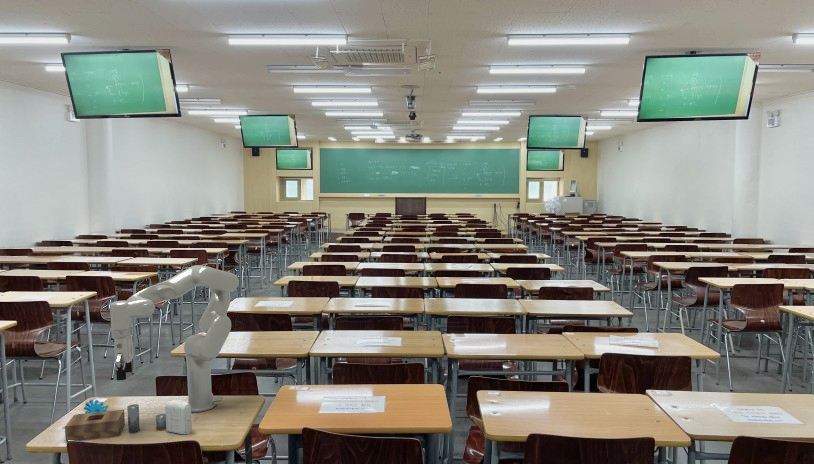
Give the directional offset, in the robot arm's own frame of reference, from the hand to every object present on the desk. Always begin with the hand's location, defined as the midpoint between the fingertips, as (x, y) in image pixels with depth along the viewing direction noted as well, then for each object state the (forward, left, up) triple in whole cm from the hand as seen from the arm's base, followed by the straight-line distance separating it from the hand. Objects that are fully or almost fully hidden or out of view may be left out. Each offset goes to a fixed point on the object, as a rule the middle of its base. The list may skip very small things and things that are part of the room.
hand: (124, 376), depth 223 cm
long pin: (-3, +2, -22) cm, 22 cm away
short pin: (-13, +2, -22) cm, 25 cm away
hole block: (+11, -1, -22) cm, 24 cm away
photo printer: (-20, +8, -22) cm, 31 cm away
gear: (+14, -17, -22) cm, 31 cm away
